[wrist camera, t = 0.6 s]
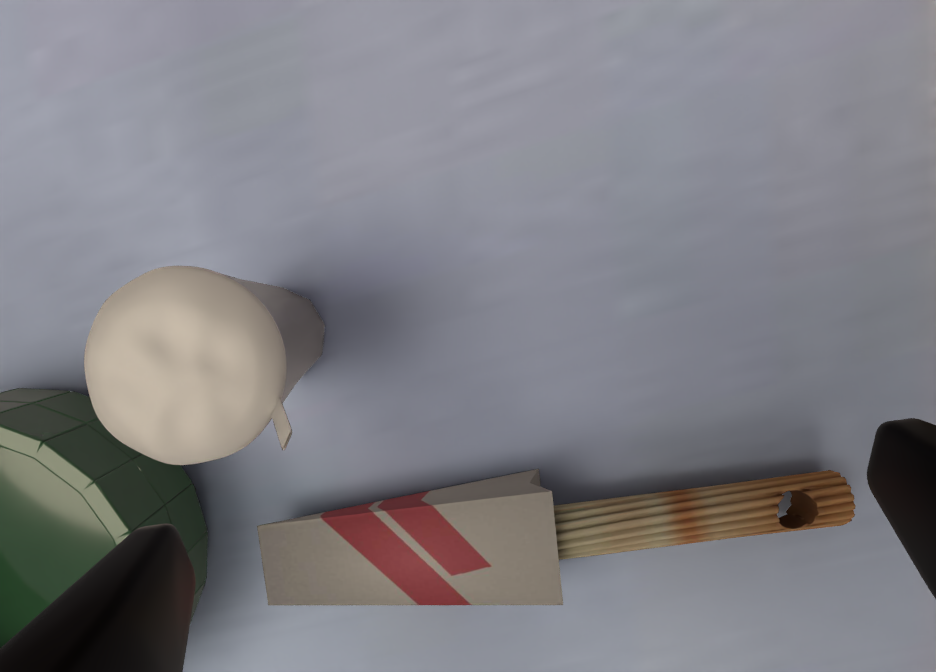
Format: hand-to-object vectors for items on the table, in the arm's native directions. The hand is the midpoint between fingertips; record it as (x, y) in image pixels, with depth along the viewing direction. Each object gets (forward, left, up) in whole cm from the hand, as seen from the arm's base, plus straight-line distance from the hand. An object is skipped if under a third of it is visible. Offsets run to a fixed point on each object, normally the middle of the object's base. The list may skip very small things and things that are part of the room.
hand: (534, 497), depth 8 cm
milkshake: (-4, +6, -15) cm, 17 cm away
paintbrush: (-3, -6, -15) cm, 16 cm away
